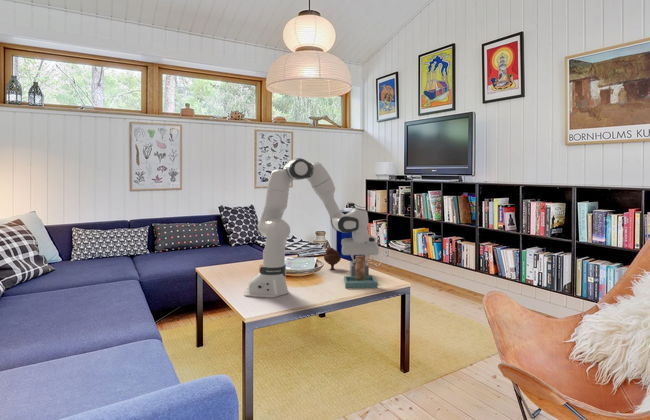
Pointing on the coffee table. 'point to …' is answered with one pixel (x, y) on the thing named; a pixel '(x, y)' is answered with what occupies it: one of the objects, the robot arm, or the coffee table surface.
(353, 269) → the grey open square box
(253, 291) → the robot arm
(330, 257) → the ice cream bowl
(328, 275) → the coffee table surface
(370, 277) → the tray
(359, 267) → the peg
